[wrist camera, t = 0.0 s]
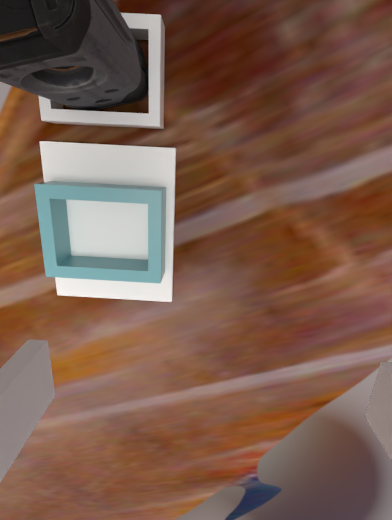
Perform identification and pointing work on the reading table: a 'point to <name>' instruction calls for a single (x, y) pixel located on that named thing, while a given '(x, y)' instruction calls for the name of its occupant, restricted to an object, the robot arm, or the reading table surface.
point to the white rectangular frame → (155, 33)
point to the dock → (108, 219)
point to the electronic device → (71, 52)
